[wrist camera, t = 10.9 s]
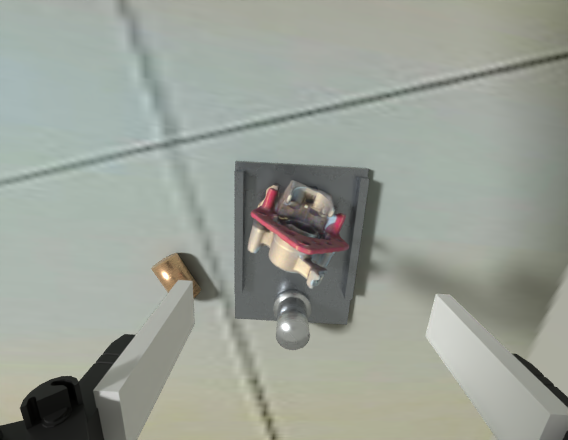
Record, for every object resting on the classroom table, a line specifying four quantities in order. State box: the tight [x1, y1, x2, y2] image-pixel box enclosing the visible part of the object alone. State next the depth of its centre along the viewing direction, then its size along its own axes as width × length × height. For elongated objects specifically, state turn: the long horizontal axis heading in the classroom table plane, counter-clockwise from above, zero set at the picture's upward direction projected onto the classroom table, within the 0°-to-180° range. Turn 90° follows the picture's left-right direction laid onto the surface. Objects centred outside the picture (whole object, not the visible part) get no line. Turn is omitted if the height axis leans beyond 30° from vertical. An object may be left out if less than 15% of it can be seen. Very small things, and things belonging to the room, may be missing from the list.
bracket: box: [235, 161, 369, 350], centre depth 33 cm, size 22×16×7 cm
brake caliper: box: [248, 180, 349, 289], centre depth 31 cm, size 11×11×12 cm
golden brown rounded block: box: [151, 253, 201, 299], centre depth 36 cm, size 6×4×4 cm, turn 27°
